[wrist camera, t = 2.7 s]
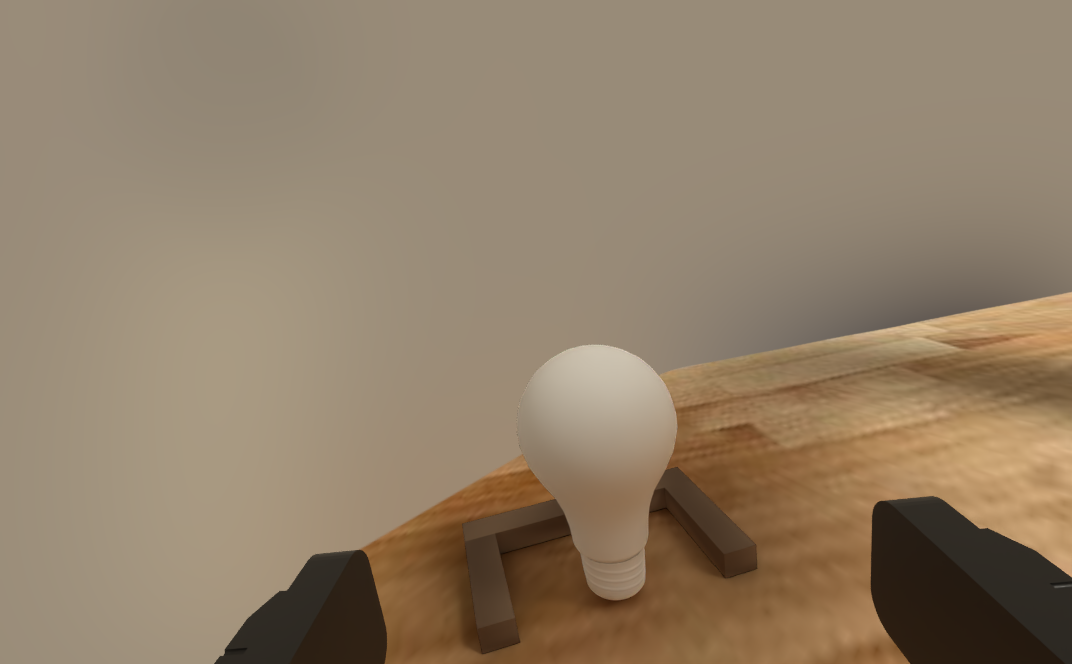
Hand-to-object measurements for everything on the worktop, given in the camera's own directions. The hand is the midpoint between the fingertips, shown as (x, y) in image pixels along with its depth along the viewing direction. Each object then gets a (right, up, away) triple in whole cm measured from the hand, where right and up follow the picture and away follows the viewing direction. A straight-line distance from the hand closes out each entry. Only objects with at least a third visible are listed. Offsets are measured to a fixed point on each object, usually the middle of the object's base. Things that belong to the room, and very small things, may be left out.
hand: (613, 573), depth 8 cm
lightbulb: (+2, -7, +14) cm, 16 cm away
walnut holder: (+2, -7, +16) cm, 18 cm away
